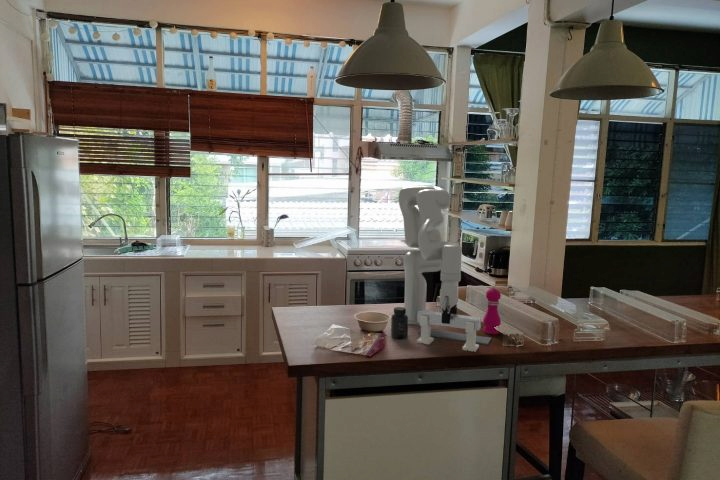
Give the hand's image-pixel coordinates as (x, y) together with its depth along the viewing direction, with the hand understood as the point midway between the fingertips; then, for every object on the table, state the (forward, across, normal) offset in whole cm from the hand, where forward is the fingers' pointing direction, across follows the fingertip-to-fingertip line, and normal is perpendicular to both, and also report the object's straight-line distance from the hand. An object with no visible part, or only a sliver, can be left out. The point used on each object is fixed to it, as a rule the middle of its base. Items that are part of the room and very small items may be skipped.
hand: (449, 320), depth 210 cm
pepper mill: (+10, -26, +12) cm, 30 cm away
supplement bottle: (+10, 0, -20) cm, 23 cm away
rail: (+2, 0, 0) cm, 2 cm away
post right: (+10, 0, +9) cm, 13 cm away
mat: (+10, -12, 0) cm, 15 cm away
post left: (+10, 0, -9) cm, 14 cm away
